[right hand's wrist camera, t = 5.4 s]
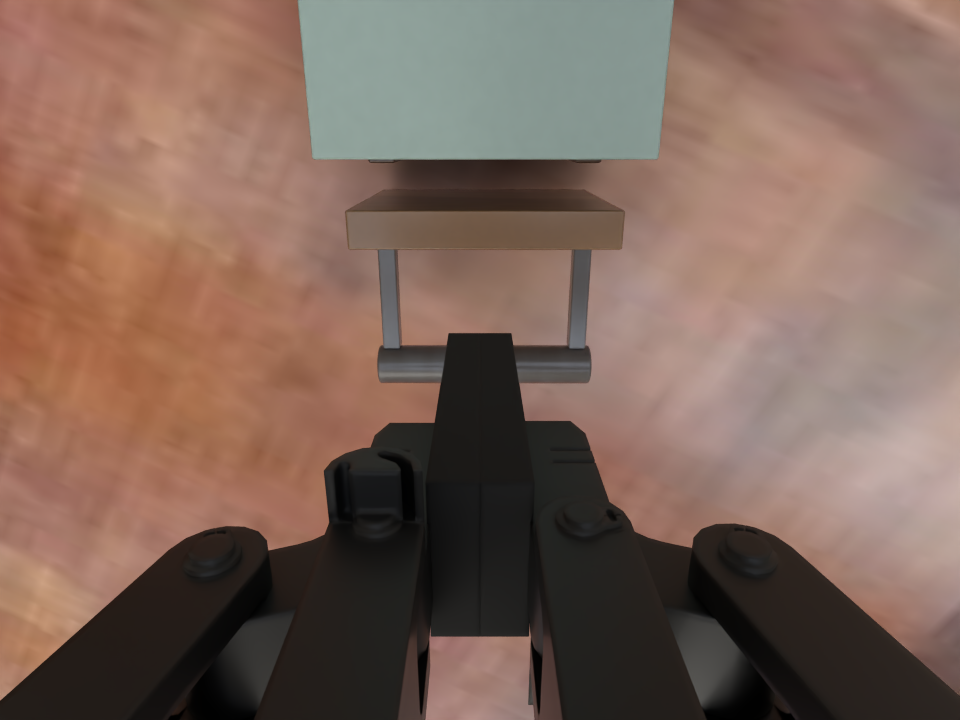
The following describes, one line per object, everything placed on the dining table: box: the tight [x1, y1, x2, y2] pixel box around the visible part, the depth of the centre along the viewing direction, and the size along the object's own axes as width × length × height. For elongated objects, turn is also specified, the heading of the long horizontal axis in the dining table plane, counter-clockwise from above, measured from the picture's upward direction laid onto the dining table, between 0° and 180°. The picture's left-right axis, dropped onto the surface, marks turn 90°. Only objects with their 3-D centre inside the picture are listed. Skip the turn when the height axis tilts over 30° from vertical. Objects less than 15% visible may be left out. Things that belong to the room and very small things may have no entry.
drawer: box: [345, 160, 625, 383], centre depth 20 cm, size 25×8×8 cm, turn 0°
